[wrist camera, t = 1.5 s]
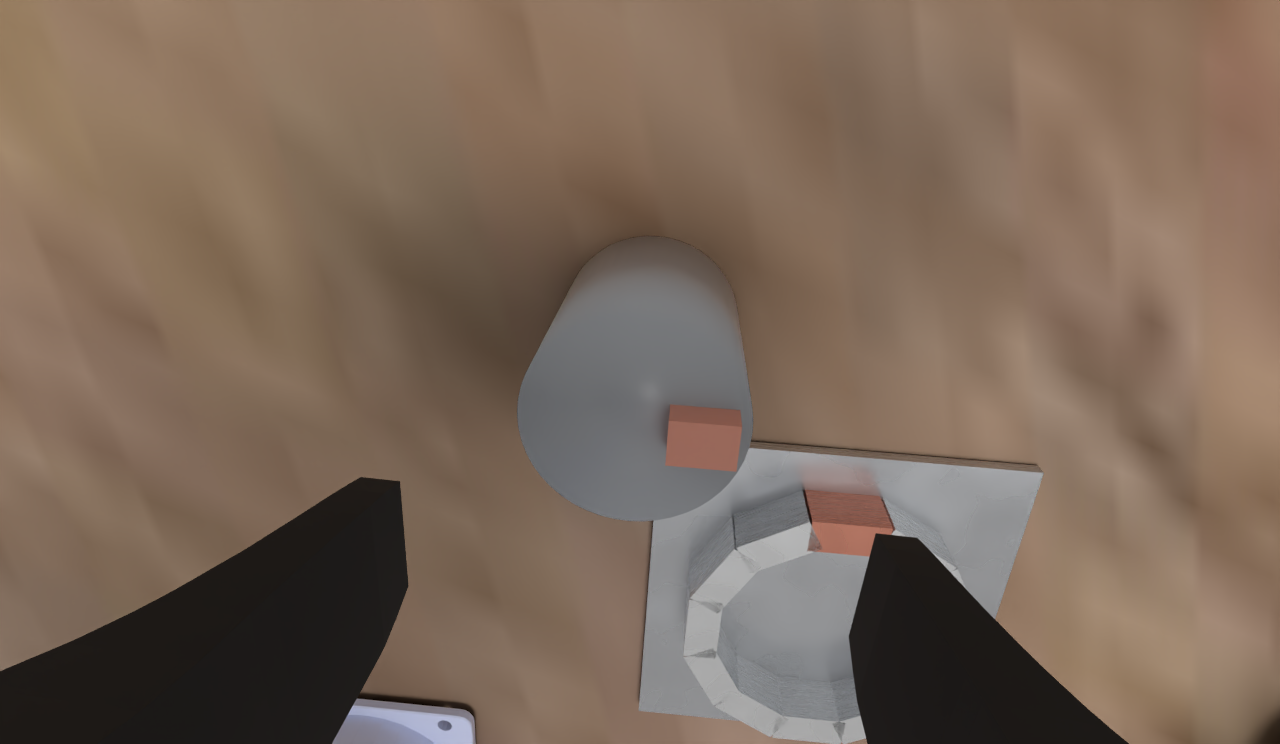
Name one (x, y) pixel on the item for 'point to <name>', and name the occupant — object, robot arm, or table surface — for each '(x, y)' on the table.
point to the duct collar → (809, 577)
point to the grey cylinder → (640, 384)
